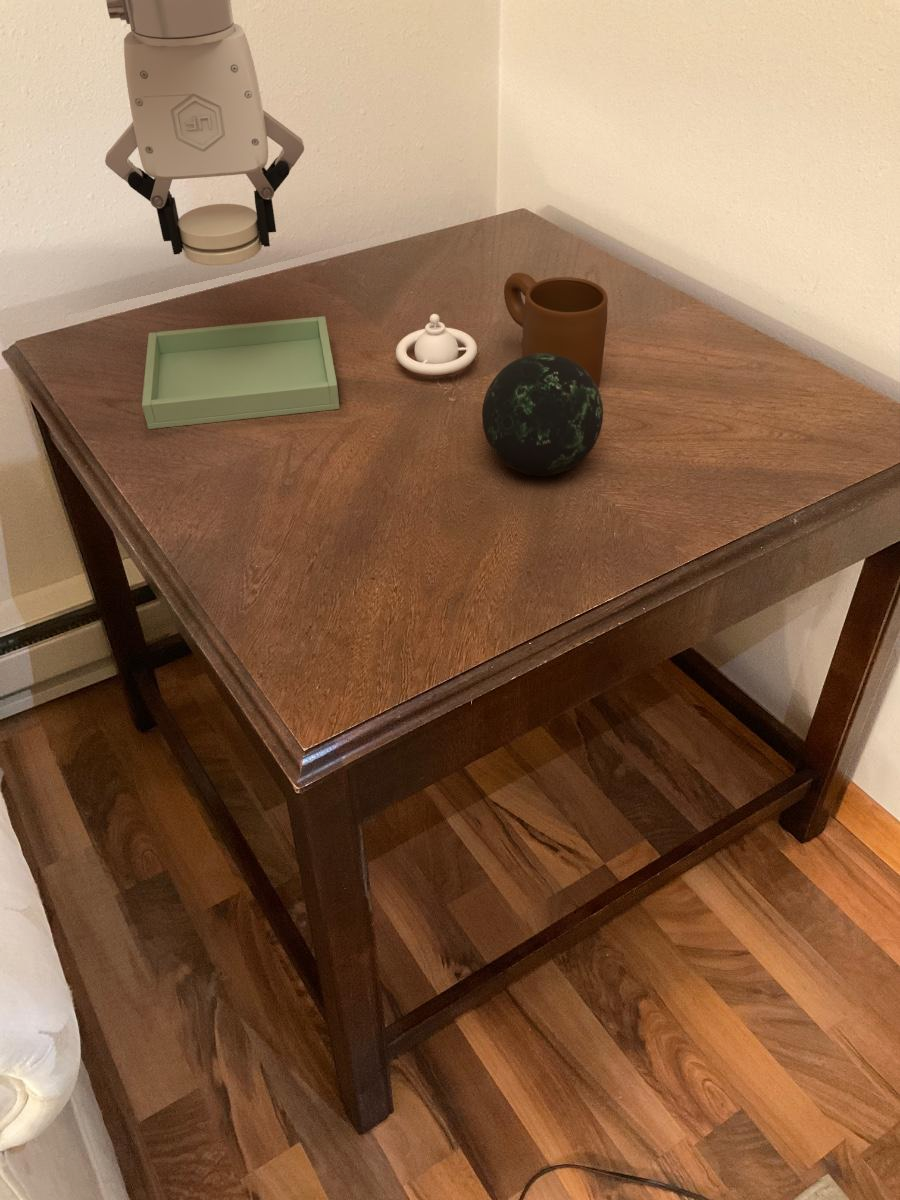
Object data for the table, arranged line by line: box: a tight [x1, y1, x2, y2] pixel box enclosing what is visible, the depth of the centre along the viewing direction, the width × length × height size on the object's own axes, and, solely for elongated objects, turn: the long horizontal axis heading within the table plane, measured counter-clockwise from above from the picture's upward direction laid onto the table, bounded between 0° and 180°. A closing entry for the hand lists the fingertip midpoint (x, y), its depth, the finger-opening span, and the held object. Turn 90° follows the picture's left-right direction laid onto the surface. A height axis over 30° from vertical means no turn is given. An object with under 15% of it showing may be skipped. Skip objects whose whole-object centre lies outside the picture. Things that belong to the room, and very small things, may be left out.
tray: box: [141, 315, 341, 430], centre depth 95 cm, size 18×14×3 cm
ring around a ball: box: [395, 313, 478, 376], centre depth 96 cm, size 8×6×8 cm
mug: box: [503, 272, 609, 389], centre depth 93 cm, size 12×8×9 cm, turn 38°
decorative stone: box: [481, 353, 604, 477], centre depth 82 cm, size 10×10×10 cm
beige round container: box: [178, 203, 263, 266], centre depth 86 cm, size 7×7×3 cm
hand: (221, 242), depth 86 cm, fingers closed on beige round container, 6 cm apart
